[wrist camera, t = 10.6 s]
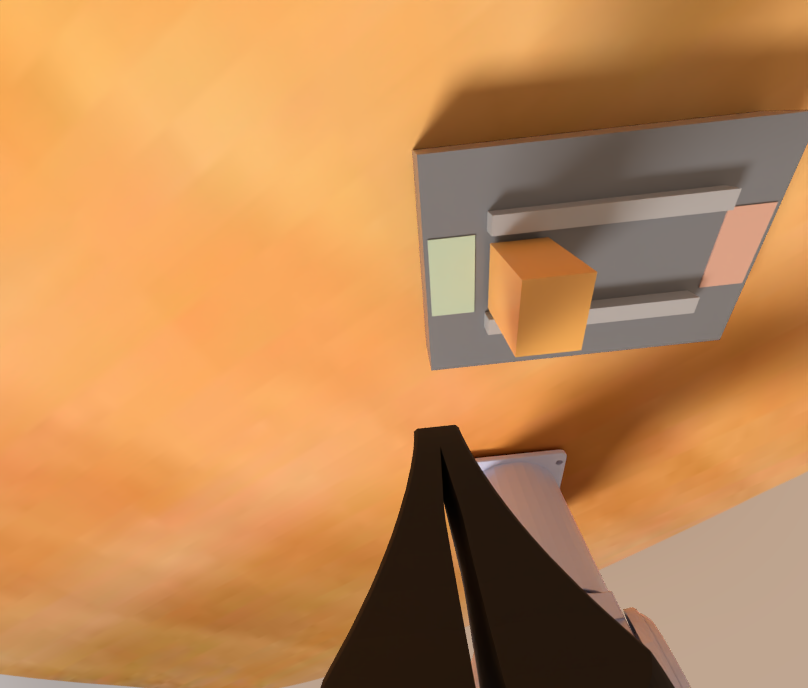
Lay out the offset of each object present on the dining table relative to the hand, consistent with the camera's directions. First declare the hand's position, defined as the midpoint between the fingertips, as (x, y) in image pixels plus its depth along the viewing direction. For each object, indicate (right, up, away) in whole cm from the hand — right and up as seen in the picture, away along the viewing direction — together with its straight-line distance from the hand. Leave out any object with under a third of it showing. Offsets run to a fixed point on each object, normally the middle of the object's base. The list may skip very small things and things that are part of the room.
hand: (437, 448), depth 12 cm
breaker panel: (+7, +8, +6) cm, 13 cm away
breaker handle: (+4, +6, +4) cm, 8 cm away
